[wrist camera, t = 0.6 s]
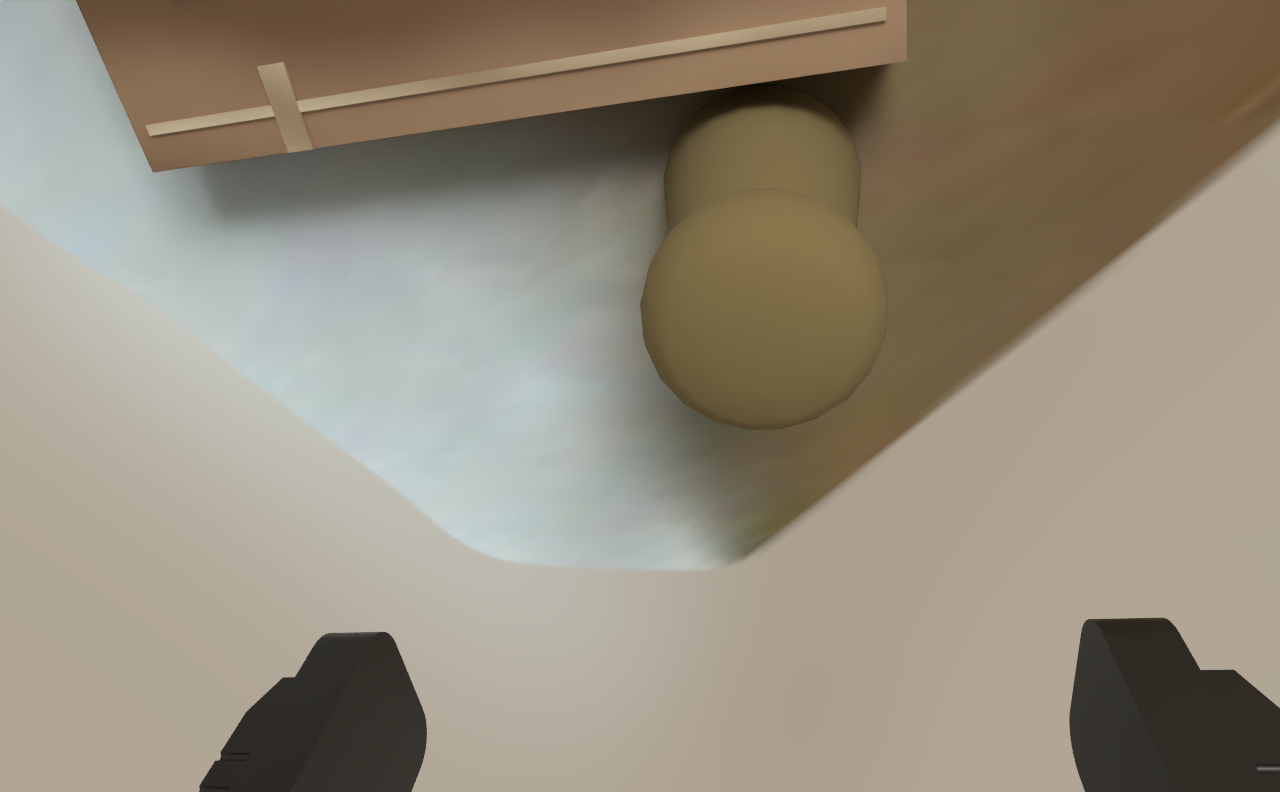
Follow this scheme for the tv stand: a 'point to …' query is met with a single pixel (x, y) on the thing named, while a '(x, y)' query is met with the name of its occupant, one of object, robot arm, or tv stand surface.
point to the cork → (763, 264)
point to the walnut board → (445, 62)
